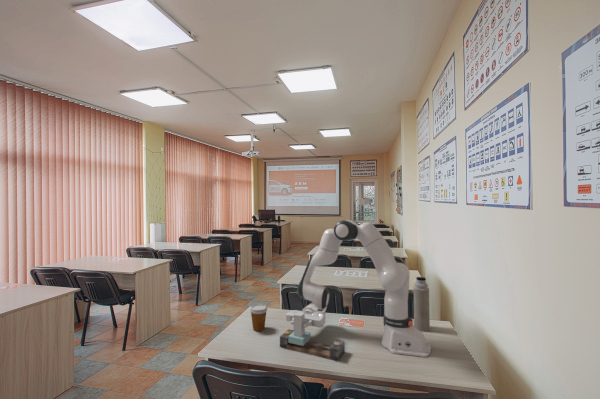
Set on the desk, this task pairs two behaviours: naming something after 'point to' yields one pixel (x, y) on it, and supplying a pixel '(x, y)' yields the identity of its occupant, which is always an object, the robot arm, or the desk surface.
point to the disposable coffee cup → (258, 317)
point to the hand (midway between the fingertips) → (298, 324)
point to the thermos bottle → (421, 305)
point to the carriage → (299, 331)
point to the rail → (315, 347)
